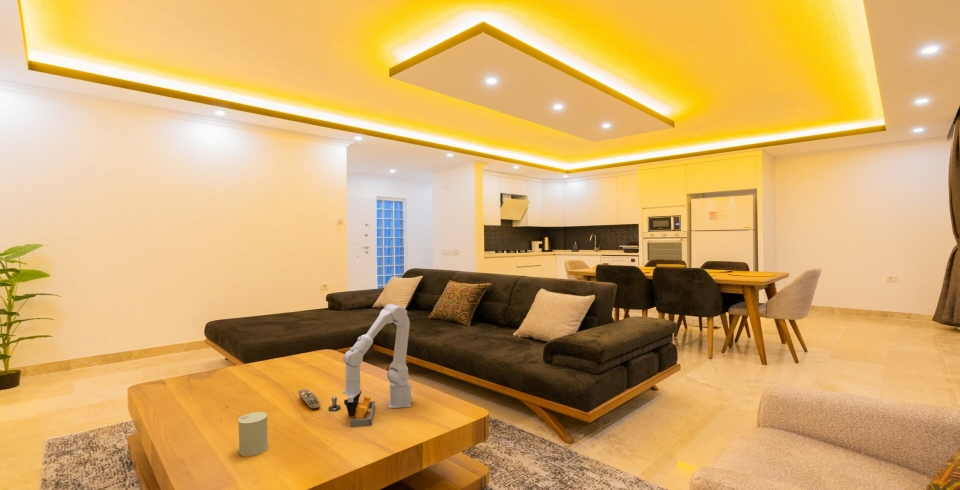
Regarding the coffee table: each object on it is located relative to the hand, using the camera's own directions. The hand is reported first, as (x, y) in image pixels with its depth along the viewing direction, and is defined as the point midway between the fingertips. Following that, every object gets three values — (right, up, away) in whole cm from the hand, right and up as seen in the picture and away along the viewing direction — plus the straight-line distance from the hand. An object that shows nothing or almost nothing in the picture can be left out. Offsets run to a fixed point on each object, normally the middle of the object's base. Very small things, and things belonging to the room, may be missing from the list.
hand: (353, 413), depth 178 cm
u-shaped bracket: (+4, -2, +1) cm, 4 cm away
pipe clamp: (+3, -2, 0) cm, 3 cm away
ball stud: (-10, -2, +9) cm, 14 cm away
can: (-28, -3, -25) cm, 38 cm away
